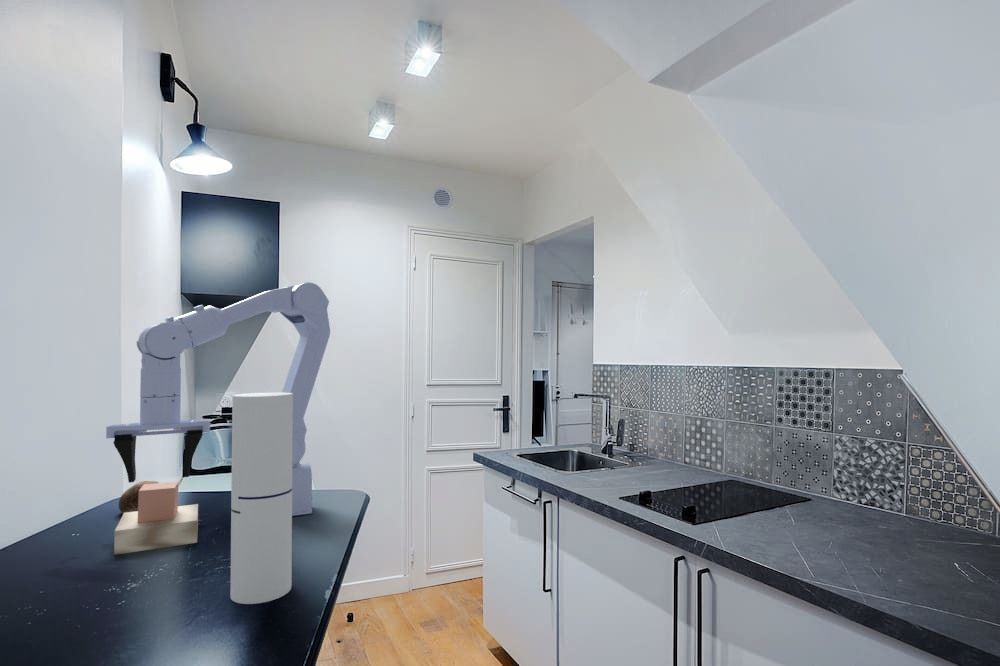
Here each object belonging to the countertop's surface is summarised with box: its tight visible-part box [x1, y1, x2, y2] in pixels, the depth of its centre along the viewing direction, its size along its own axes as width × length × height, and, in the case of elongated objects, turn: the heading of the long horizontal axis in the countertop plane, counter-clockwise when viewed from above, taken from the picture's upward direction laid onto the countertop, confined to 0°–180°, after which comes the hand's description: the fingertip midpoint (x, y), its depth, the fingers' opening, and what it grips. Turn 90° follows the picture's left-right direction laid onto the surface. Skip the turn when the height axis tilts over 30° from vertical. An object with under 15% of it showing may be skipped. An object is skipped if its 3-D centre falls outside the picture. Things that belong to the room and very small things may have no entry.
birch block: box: [113, 503, 199, 555], centre depth 91 cm, size 11×11×4 cm
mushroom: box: [118, 480, 159, 515], centre depth 106 cm, size 8×8×6 cm
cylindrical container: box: [229, 391, 293, 605], centre depth 70 cm, size 7×7×25 cm
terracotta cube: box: [137, 481, 179, 523], centre depth 91 cm, size 5×5×5 cm
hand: (159, 478), depth 91 cm, fingers open, 7 cm apart
